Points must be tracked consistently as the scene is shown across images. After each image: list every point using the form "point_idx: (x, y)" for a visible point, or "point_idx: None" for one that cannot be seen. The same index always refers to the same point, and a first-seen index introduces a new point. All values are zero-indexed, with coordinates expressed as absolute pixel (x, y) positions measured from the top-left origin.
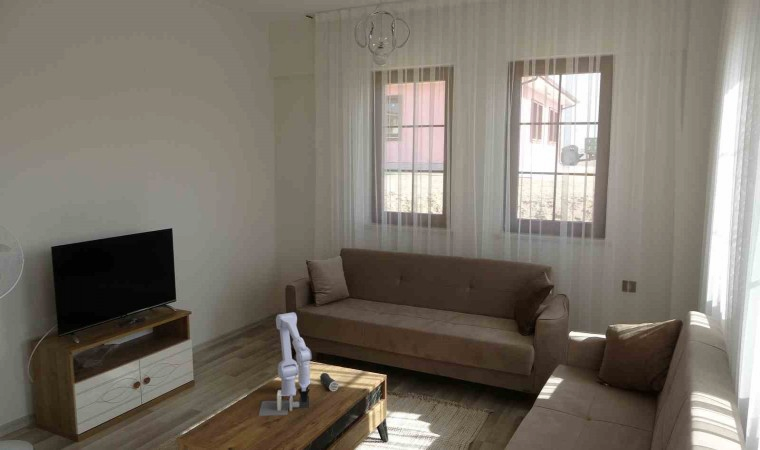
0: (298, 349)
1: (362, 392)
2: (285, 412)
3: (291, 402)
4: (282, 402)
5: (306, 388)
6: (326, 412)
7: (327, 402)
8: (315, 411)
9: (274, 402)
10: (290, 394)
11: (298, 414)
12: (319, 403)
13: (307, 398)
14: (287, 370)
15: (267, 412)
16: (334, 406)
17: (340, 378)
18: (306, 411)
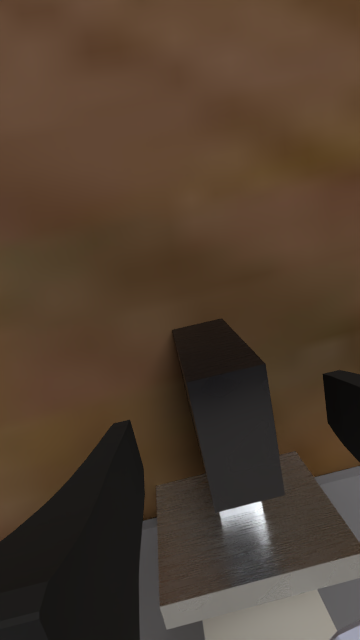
0: None
1: None
2: (333, 498)
3: (352, 533)
4: (145, 579)
5: (111, 511)
6: (293, 103)
7: (29, 138)
8: (275, 239)
9: (156, 632)
10: (184, 622)
11: None
12: (77, 236)
13: (263, 381)
14: None
15: (334, 615)
16: (125, 15)
17: None
18: (279, 331)
